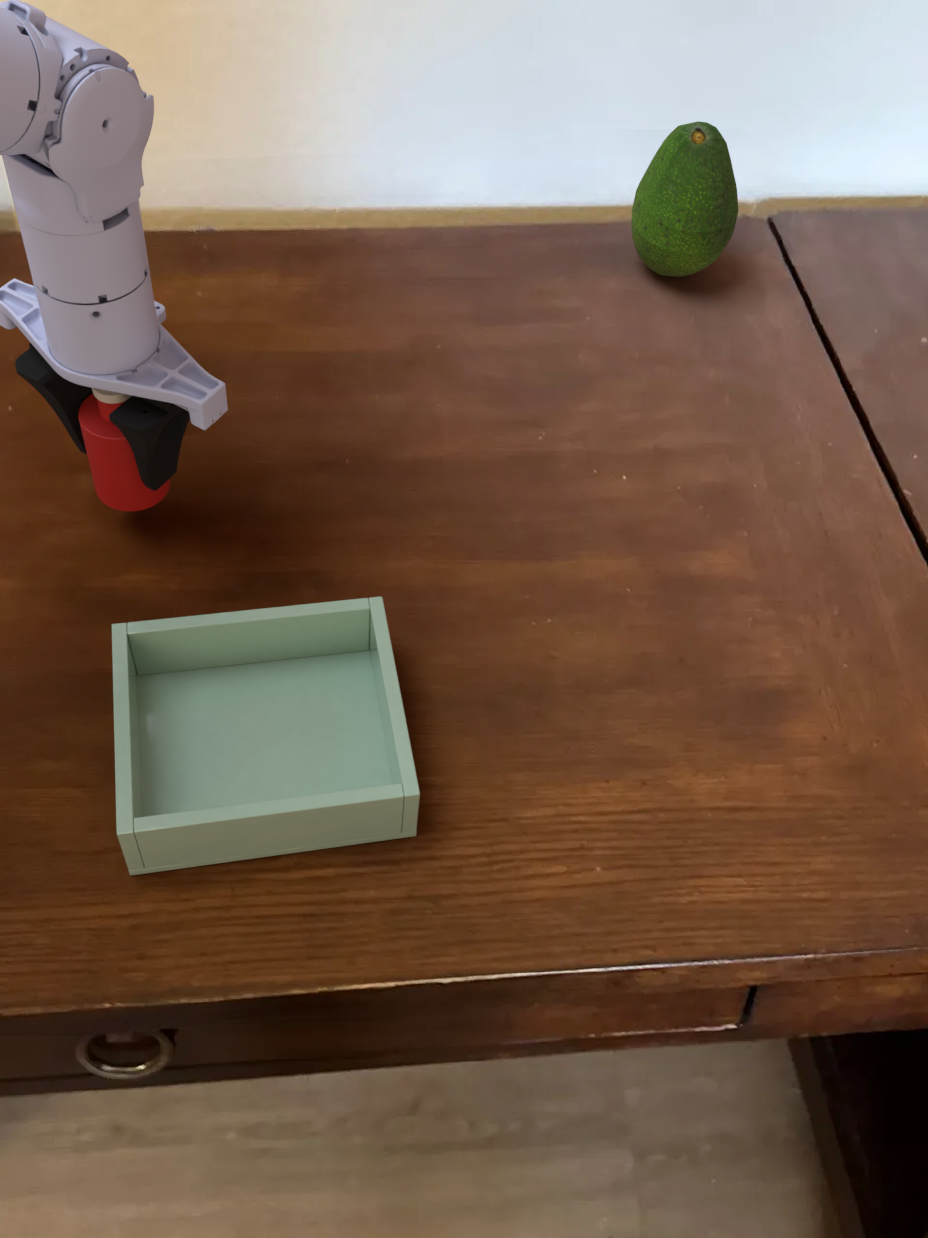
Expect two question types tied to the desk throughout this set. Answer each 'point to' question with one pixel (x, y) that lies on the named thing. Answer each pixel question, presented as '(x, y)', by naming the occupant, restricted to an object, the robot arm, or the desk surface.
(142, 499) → the bottle
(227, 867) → the desk surface
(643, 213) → the fruit
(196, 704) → the tray
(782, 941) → the desk surface
